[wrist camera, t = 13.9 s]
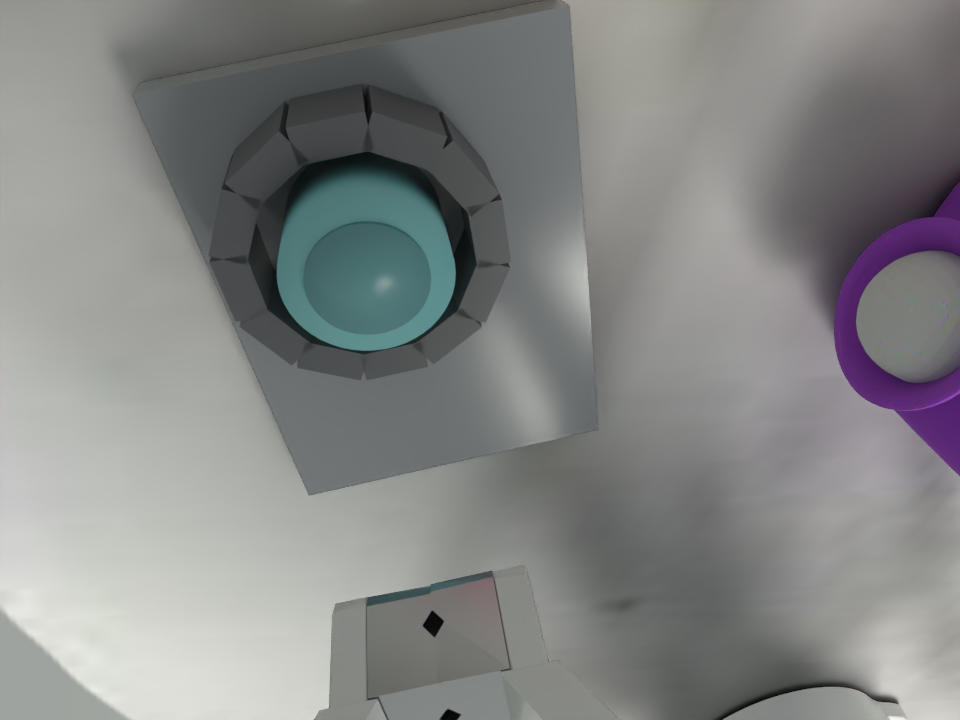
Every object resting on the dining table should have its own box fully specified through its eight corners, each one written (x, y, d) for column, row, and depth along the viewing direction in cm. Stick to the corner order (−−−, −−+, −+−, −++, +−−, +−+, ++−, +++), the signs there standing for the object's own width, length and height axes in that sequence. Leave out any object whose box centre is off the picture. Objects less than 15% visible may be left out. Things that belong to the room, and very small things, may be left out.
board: (590, 410, 30) (598, 429, 29) (309, 474, 30) (308, 495, 29) (558, -3, 20) (569, 5, 19) (141, 82, 20) (131, 94, 19)
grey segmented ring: (507, 304, 25) (523, 345, 23) (275, 355, 25) (270, 401, 23) (470, 60, 20) (485, 86, 18) (178, 121, 20) (161, 153, 18)
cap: (451, 274, 24) (466, 338, 21) (308, 300, 24) (302, 368, 21) (428, 134, 21) (443, 184, 18) (264, 161, 21) (251, 216, 18)
